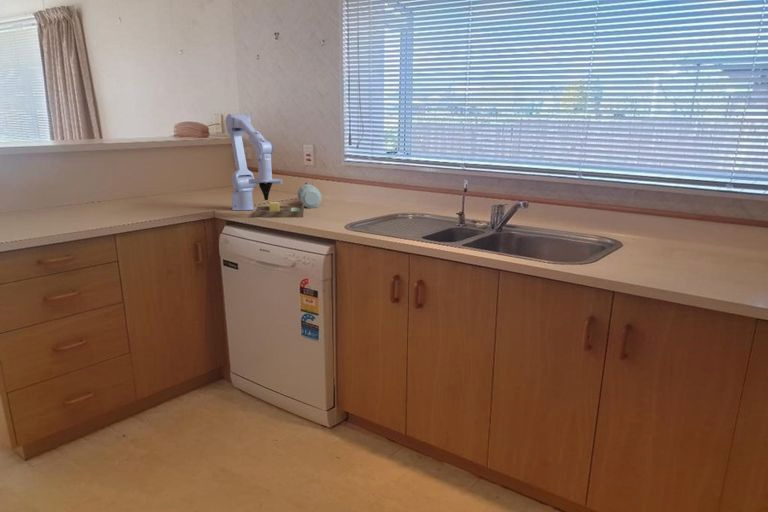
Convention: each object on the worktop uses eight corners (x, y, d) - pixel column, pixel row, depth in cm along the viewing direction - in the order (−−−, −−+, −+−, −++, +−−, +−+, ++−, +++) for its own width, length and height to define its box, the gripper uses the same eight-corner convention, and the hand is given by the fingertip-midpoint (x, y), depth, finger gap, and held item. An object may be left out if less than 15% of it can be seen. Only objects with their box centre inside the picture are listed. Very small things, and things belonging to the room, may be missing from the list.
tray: (253, 217, 240) (253, 208, 239) (257, 211, 253) (256, 203, 252) (302, 217, 242) (302, 208, 241) (303, 211, 255) (303, 203, 254)
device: (322, 208, 263) (321, 187, 261) (301, 209, 261) (300, 187, 258) (312, 198, 292) (312, 179, 290) (293, 199, 290) (293, 180, 287)
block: (269, 212, 242) (269, 203, 241) (270, 210, 246) (270, 201, 245) (278, 212, 242) (278, 203, 241) (279, 210, 246) (279, 201, 245)
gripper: (247, 170, 234) (248, 201, 238) (280, 170, 235) (282, 201, 239) (249, 168, 241) (250, 198, 244) (282, 168, 242) (283, 198, 246)
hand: (266, 199), depth 242 cm, fingers closed
